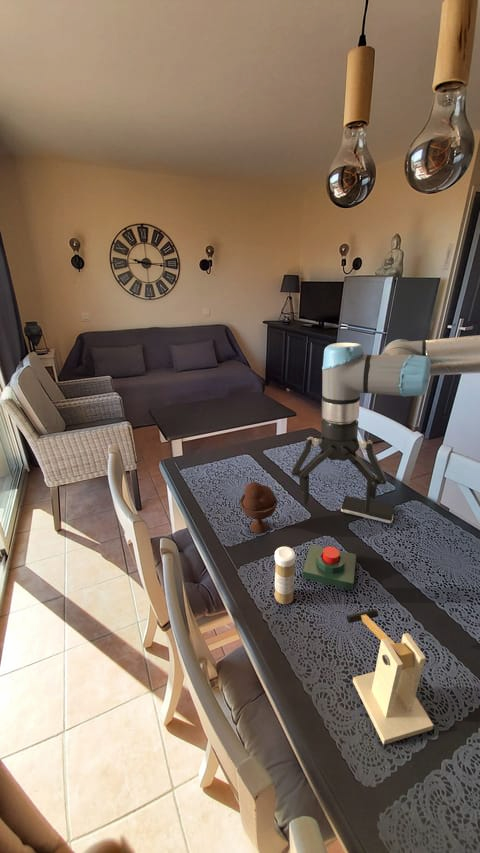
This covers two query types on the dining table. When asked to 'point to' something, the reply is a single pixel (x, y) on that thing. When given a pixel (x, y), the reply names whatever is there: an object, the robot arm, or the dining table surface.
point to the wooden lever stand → (394, 693)
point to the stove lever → (383, 636)
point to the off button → (331, 555)
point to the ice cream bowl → (258, 505)
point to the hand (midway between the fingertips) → (336, 505)
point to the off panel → (330, 568)
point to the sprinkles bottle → (284, 574)
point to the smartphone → (375, 509)
